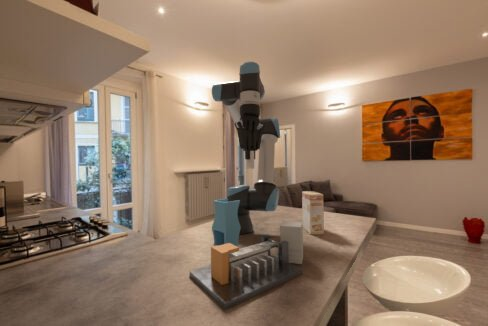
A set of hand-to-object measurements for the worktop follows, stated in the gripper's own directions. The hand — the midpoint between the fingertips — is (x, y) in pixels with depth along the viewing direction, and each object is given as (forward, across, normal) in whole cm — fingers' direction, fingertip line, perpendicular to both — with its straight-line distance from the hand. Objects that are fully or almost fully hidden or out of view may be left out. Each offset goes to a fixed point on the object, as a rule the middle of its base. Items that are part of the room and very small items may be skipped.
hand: (250, 168), depth 82 cm
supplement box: (+33, +10, -11) cm, 36 cm away
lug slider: (+31, -17, -10) cm, 37 cm away
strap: (+26, -7, -10) cm, 29 cm away
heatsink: (+32, -10, -10) cm, 35 cm away
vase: (+33, -5, +9) cm, 34 cm away
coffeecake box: (+33, +46, +6) cm, 57 cm away
